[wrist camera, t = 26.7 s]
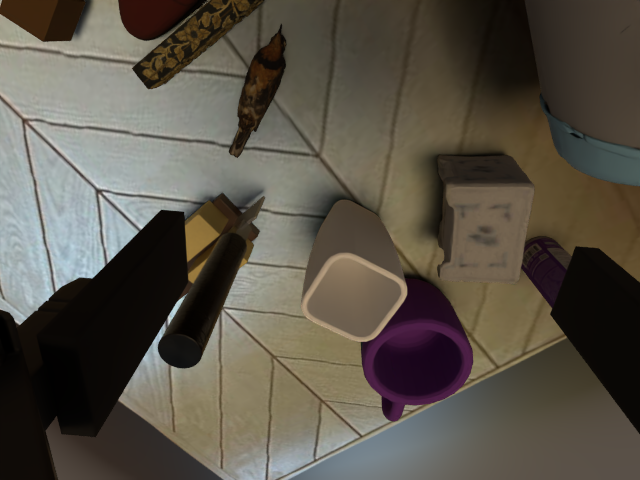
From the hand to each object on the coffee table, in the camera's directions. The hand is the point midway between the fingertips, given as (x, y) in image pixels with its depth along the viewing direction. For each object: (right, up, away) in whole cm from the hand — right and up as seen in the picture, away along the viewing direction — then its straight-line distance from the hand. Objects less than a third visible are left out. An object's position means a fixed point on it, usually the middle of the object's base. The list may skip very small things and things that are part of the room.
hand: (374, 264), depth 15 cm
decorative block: (-12, +21, +26) cm, 35 cm away
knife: (-9, +4, +31) cm, 33 cm away
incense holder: (+14, +5, +32) cm, 35 cm away
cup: (+1, +2, +34) cm, 34 cm away
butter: (-14, +1, +34) cm, 37 cm away
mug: (+8, -10, +40) cm, 42 cm away
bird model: (-8, +15, +28) cm, 33 cm away
